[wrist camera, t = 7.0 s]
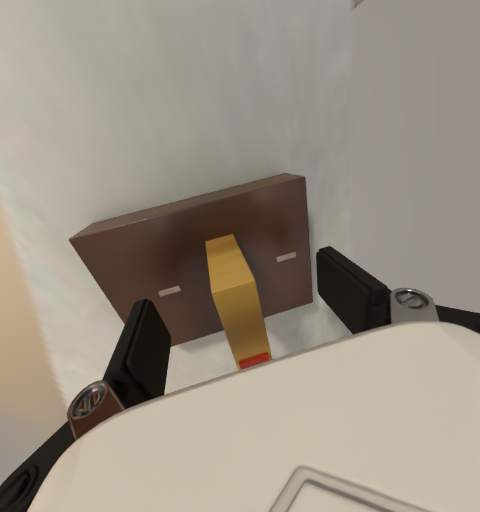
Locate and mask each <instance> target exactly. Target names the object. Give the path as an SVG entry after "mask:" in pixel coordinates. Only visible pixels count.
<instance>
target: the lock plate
mask: <svg viewBox="0 0 480 512" xmlns="http://www.w3.org/2000/svg"><path fill="white" fill-rule="evenodd" d="M231 234H233V235H234V237H235V239H236V242H237V244H238V246H239V248H240V250H241V252H242V254H243V256H244V258H245V260H246V262H247V264H248V266H249V268H250V270H251V272H252V275H253V277H254V279H255V281H256V286H257V291H258V295H259V300H260V305H261V309H262V314H263V318H264V317H267V316H270V315H274V314H277V313H280V312H283V311H286V310H290V309H293V308H296V307H299V306H302V305H306V304H309V303H312V302H313V294H312V278H311V262H310V246H309V230H308V214H307V198H306V182H305V177H303V176H298V175H293V174H288V173H284V174H280V175H276V176H273V177H269V178H265V179H261V180H257V181H253V182H250V183H246V184H242V185H238V186H234V187H230V188H226V189H223V190H219V191H215V192H211V193H207V194H203V195H200V196H196V197H192V198H188V199H184V200H180V201H177V202H173V203H169V204H165V205H161V206H157V207H154V208H150V209H146V210H142V211H138V212H134V213H131V214H127V215H123V216H119V217H115V218H111V219H108V220H104V221H100V222H96V223H92V224H91V225H89V226H88V227H86V228H85V229H83V230H82V231H80V232H79V233H77V234H76V235H74V236H73V237H71V238H70V239H69V241H70V243H71V244H72V246H73V247H74V249H75V250H76V252H77V253H78V255H79V256H80V258H81V259H82V261H83V262H84V264H85V265H86V267H87V268H88V270H89V271H90V273H91V274H92V276H93V277H94V279H95V280H96V282H97V283H98V285H99V286H100V288H101V289H102V291H103V292H104V294H105V295H106V297H107V298H108V300H109V301H110V303H111V304H112V306H113V307H114V309H115V310H116V312H117V313H118V315H119V316H120V318H121V319H122V321H123V323H124V324H126V321H127V319H128V317H129V314H130V312H131V309H132V307H133V305H134V303H135V302H136V301H140V300H143V299H148V300H151V301H152V302H153V304H154V305H155V307H156V309H157V311H158V313H159V315H160V316H161V318H162V320H163V322H164V324H165V326H166V327H167V329H168V331H169V333H170V335H171V347H172V346H175V345H178V344H181V343H184V342H188V341H191V340H194V339H197V338H200V337H204V336H207V335H210V334H213V333H216V332H219V331H223V330H224V328H223V325H222V322H221V319H220V316H219V313H218V310H217V307H216V305H215V302H214V299H213V296H212V293H211V285H210V277H209V268H208V260H207V252H206V244H205V242H206V241H209V240H212V239H216V238H220V237H223V236H227V235H231Z"/></svg>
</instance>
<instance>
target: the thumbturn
mask: <svg viewBox="0 0 480 512" xmlns="http://www.w3.org/2000/svg"><path fill="white" fill-rule="evenodd" d="M205 244H206V252H207V260H208V268H209V277H210V285H211V293H212V296H213V299H214V302H215V305H216V307H217V310H218V313H219V316H220V319H221V322H222V325H223V328H224V330H225V333H226V336H227V339H228V342H229V345H230V348H231V351H232V353H233V356H234V359H235V362H236V365H237V368H238V371H239V370H242V369H245V368H248V367H251V366H254V365H258V364H261V363H264V362H267V361H270V360H272V356H271V351H270V347H269V342H268V337H267V333H266V328H265V323H264V319H263V314H262V309H261V305H260V300H259V295H258V291H257V286H256V281H255V279H254V277H253V275H252V272H251V270H250V268H249V266H248V264H247V262H246V260H245V258H244V256H243V254H242V252H241V250H240V248H239V246H238V244H237V242H236V239H235V237H234V235H233V234H231V235H227V236H223V237H220V238H216V239H212V240H209V241H206V242H205Z"/></svg>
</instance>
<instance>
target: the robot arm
mask: <svg viewBox="0 0 480 512" xmlns="http://www.w3.org/2000/svg"><path fill="white" fill-rule="evenodd" d="M316 262H317V288H318V293H319V295H320V296H321V298H322V299H323V300H324V301H325V302H326V303H327V305H328V306H329V307H330V308H331V309H332V310H333V312H334V313H335V314H336V315H337V316H338V317H339V319H340V320H341V321H342V322H343V323H344V324H345V326H346V327H347V328H348V329H349V330H350V332H351V333H352V334H353V335H350V336H347V337H343V338H340V339H337V340H334V341H331V342H327V343H324V344H321V345H318V346H315V347H311V348H308V349H305V350H302V351H299V352H295V353H292V354H289V355H286V356H283V357H280V358H276V359H273V360H270V361H267V362H264V363H261V364H258V365H254V366H251V367H248V368H245V369H242V370H239V371H236V372H233V373H229V374H226V375H223V376H220V377H217V378H214V379H211V380H208V381H205V382H202V383H199V384H196V385H193V386H189V387H186V388H183V389H180V390H177V391H175V392H172V393H169V394H166V395H164V391H165V384H166V376H167V369H168V361H169V354H170V347H171V335H170V333H169V331H168V329H167V327H166V326H165V324H164V322H163V320H162V318H161V316H160V315H159V313H158V311H157V309H156V307H155V305H154V304H153V302H152V301H151V300H148V299H143V300H140V301H136V302H135V303H134V305H133V307H132V309H131V312H130V314H129V317H128V319H127V321H126V324H125V326H124V329H123V331H122V334H121V336H120V338H119V341H118V343H117V345H116V348H115V350H114V353H113V355H112V358H111V360H110V362H109V365H108V367H107V370H106V372H105V374H104V377H103V379H102V380H100V381H96V382H94V383H92V384H90V385H88V386H87V387H85V388H84V389H83V390H82V391H81V392H80V393H79V394H78V395H77V396H76V397H75V398H74V400H73V401H72V403H71V404H70V406H69V409H68V412H67V418H68V421H67V422H66V423H65V424H64V425H63V426H62V427H61V428H60V429H59V430H58V431H57V432H56V433H55V434H53V435H52V436H51V437H50V438H49V439H48V440H47V441H46V442H45V443H44V444H43V445H42V446H41V447H39V448H38V449H37V450H36V451H35V452H34V453H33V454H32V455H31V456H30V457H29V458H28V459H27V460H26V461H25V462H23V463H22V464H21V465H20V466H19V467H18V468H17V469H16V470H15V471H14V472H13V473H12V474H11V475H10V476H9V477H8V478H7V479H6V480H5V481H4V482H3V483H2V485H1V486H0V512H480V313H475V312H470V311H465V310H459V309H454V308H448V307H443V306H438V305H435V304H434V301H433V299H432V298H431V297H430V296H429V295H427V294H425V293H423V292H421V291H418V290H416V289H411V288H398V289H395V290H393V291H391V290H390V289H388V288H387V286H386V285H384V284H383V283H382V282H380V281H379V280H377V279H376V278H375V277H373V276H372V275H370V274H369V273H367V272H366V271H365V270H363V269H362V268H360V267H359V266H358V265H356V264H355V263H353V262H352V261H351V260H349V259H348V258H346V257H345V256H343V255H342V254H341V253H339V252H338V251H336V250H335V249H334V248H332V247H331V246H328V247H325V248H321V249H319V252H317V253H316Z"/></svg>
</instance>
